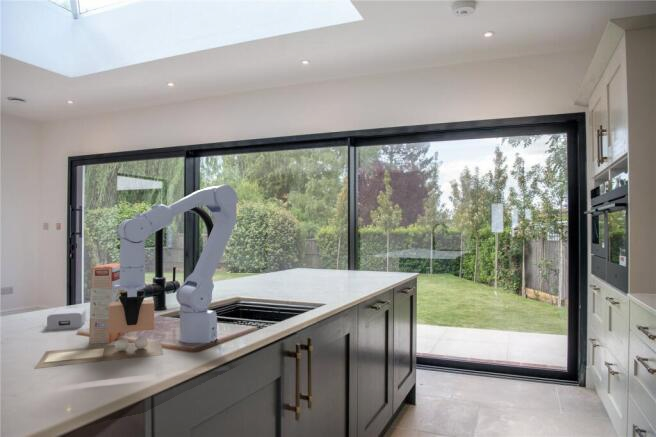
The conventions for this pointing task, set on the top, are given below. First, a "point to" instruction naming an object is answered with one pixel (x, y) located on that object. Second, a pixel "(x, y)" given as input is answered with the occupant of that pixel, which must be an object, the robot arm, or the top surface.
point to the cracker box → (103, 301)
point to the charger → (66, 318)
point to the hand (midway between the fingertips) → (132, 322)
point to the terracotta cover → (119, 321)
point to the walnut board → (97, 354)
